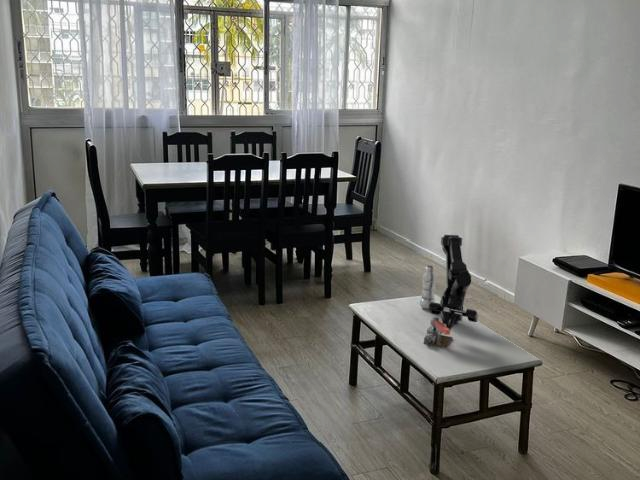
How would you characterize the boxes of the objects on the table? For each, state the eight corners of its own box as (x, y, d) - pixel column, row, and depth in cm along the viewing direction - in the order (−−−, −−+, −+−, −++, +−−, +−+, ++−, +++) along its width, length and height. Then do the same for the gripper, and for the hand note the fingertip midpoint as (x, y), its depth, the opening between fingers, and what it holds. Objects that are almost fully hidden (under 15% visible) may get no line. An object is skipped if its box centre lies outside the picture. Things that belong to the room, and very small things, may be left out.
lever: (436, 322, 252) (436, 316, 251) (451, 334, 240) (451, 329, 239) (429, 323, 251) (429, 317, 250) (443, 335, 239) (444, 329, 239)
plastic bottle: (426, 304, 290) (429, 263, 284) (437, 308, 285) (440, 267, 279) (416, 307, 286) (419, 266, 280) (428, 312, 281) (431, 269, 275)
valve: (431, 333, 258) (432, 318, 256) (453, 338, 254) (454, 323, 252) (422, 344, 248) (423, 329, 246) (444, 349, 244) (446, 333, 242)
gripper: (482, 308, 251) (474, 344, 245) (437, 300, 259) (428, 334, 253) (480, 296, 242) (470, 333, 236) (433, 288, 250) (423, 323, 244)
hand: (447, 331), depth 242 cm, fingers closed
